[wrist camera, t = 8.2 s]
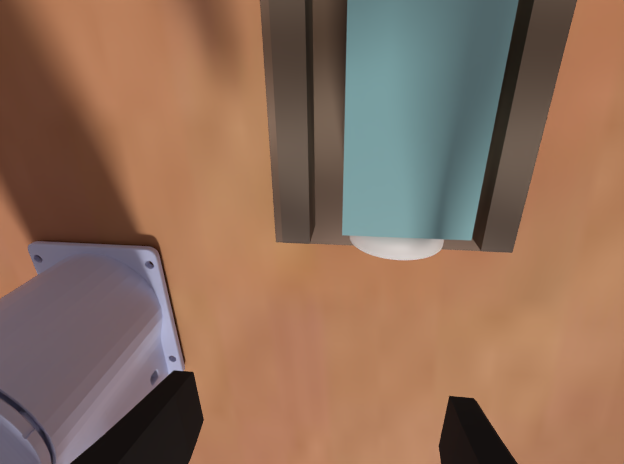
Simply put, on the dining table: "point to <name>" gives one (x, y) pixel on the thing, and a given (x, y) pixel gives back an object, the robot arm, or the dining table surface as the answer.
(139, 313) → the robot arm
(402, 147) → the tall teal pillar block
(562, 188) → the dining table surface
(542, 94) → the cradle
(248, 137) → the dining table surface
